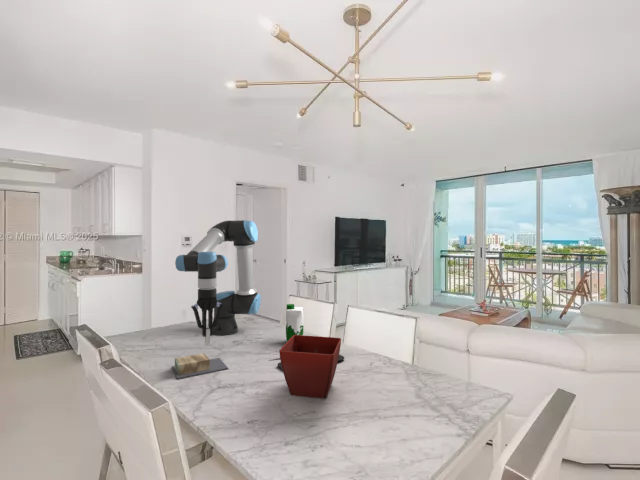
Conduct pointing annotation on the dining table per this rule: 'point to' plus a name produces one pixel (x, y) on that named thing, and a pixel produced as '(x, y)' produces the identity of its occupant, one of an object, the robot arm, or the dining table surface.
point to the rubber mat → (214, 367)
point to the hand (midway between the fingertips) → (207, 343)
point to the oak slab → (192, 364)
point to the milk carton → (294, 321)
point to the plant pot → (310, 364)
